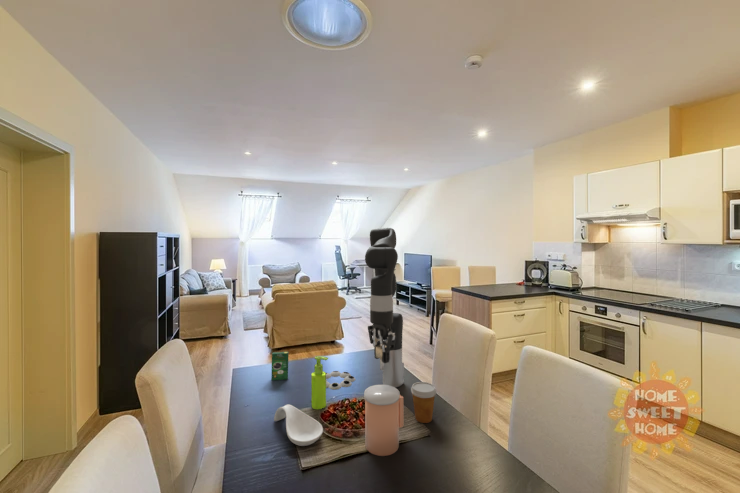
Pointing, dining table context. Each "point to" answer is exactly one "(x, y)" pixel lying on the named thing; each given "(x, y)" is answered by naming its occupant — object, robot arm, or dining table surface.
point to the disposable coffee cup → (423, 401)
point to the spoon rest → (299, 425)
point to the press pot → (383, 419)
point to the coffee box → (279, 366)
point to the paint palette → (342, 375)
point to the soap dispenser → (318, 385)
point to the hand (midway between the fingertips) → (381, 360)
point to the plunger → (380, 355)
